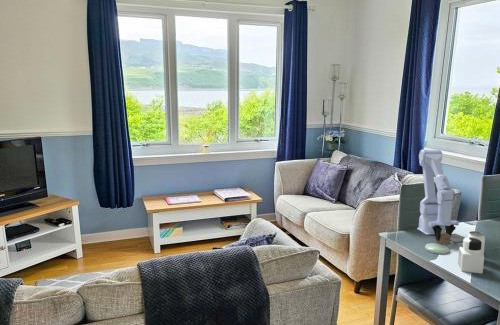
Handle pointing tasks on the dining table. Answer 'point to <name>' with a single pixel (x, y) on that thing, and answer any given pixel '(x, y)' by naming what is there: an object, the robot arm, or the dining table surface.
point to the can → (478, 236)
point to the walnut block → (444, 238)
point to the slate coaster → (456, 238)
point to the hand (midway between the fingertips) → (442, 239)
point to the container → (471, 256)
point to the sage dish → (436, 248)
